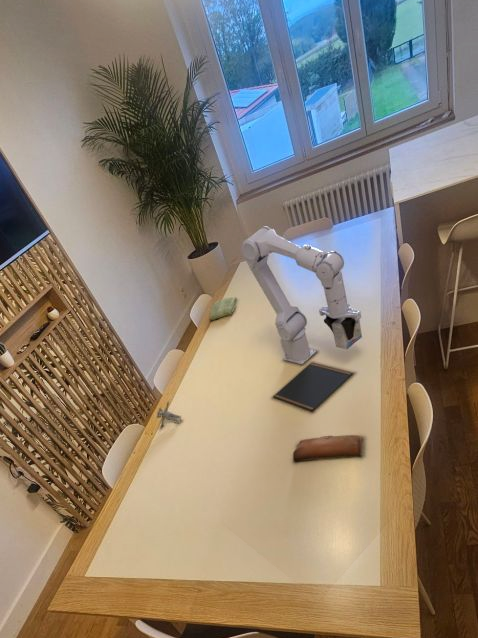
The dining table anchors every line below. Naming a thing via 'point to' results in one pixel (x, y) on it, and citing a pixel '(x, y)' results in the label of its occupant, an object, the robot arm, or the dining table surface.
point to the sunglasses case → (328, 447)
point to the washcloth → (223, 308)
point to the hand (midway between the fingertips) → (344, 337)
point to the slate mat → (312, 386)
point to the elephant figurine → (167, 415)
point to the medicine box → (341, 336)
